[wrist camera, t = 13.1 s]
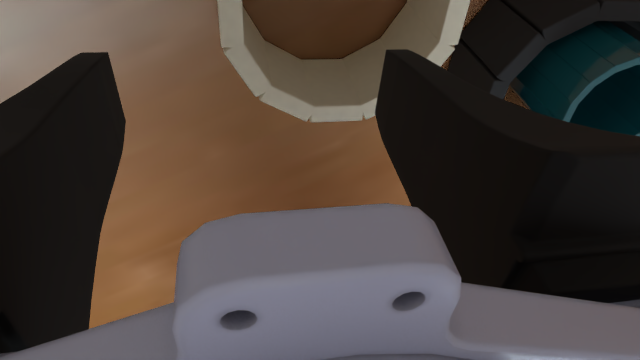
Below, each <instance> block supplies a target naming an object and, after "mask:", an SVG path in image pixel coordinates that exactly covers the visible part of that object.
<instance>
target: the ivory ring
mask: <svg viewBox="0 0 640 360" xmlns="http://www.w3.org/2000/svg"><path fill="white" fill-rule="evenodd" d="M469 4H470V0H407V3H406V4H405V6H404V7H403V8H402V10H401V11H400V12H399V14H398V15H397V16H396V18H395V19H394V20H393V22H392V23H391V24H390V26H389V27H388V28H387V30H386V31H385V32H384V34H383V35H382V36H381V38H380V39H378V40H376V41H375V42H373V43H371V44H369V45H367V46H365V47H363V48H361V49H359V50H358V51H356V52H354V53H352V54H350V55H348V56H346V57H344V58H342V59H313V60H301V59H299V58H297V57H295V56H293V55H291V54H289V53H288V52H286V51H284V50H282V49H280V48H278V47H276V46H274V45H273V44H271V43H269V42H267V41H265V40H264V39H263V37H262V36H261V34H260V33H259V31H258V29H257V28H256V26H255V25H254V23H253V22H252V20H251V18H250V17H249V15H248V14H247V12H246V10H245V9H244V7H243V6H242V0H217V5H218V17H219V30H220V42H221V47H223V52H224V54H225V55H226V57H227V58H228V59H229V61H230V62H231V64H232V65H233V66H234V68H235V69H236V71H237V72H238V73H239V75H240V76H241V78H242V79H243V80H244V82H245V83H246V85H247V86H248V87H249V89H250V90H251V92H252V93H253V94H254V96H255V97H257V96H259V100H260V101H262V102H264V103H266V104H268V105H271V106H273V107H275V108H277V109H279V110H282V111H284V112H286V113H288V114H290V115H292V116H295V117H297V118H299V119H301V120H303V121H307V120H308V119H310V122H336V121H361V120H362V117H363V115H364V117H365V119H369V118H371V117H373V116H375V108H376V103H377V97H378V92H379V86H380V81H381V75H382V69H383V64H384V58H385V53H386V50H391V49H408V50H410V51H413V52H415V53H417V54H419V55H421V56H423V57H424V58H426V59H428V60H430V61H431V62H433V63H435V64H437V65H438V66H440V67H441V65H442V64H443V63H444V62H445V61H446V59H447V58H448V57H449V56H450V55H451V54H452V52H453V51H454V50H455V48H454V46H453V45H458V42H459V39H460V35H461V32H462V28H463V25H464V21H465V18H466V14H467V11H468V7H469Z"/></svg>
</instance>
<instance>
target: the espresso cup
mask: <svg viewBox="0 0 640 360" xmlns="http://www.w3.org/2000/svg"><path fill="white" fill-rule="evenodd" d="M509 88H510V89H511V90H512V91H513V92H514V93H515V95H516V96H517V97H518V98H519V99H520V100H521V101H522V102H523V103H524V104H525V105H526V107H527V108H528V109H529V110H531V111H534V112H537V113H540V114H543V115H546V116H550V117H553V118H556V119H559V120H563V121H566V122H570V123H574V124H578V125H582V126H587V127H591V128H595V129H600V130H604V131H609V132H615V133H622V134H628V135H634V136H640V41H639V40H638V39H636V38H635V37H633V36H632V35H630V34H628V33H627V32H625V31H624V30H622V29H621V28H619V27H618V26H616V25H615V24H613V23H611V22H610V21H596V22H594V23H592V24H590V25H588V26H586V27H583V28H581V29H579V30H577V31H575V32H573V33H571V34H569V35H567V36H565V37H563V38H561V39H558V40H556V41H554V42H552V43H550V44H548V45H547V46H546V47H545V48H544V49H543V50H542V51H541V52H540V53H539V54H538V55H537V56H536V57H535V58H534V59H533V60H532V61H531V62H530V63H529V64H528V65H527V66H526V67H525V68H524V69H523V70H522V71H521V72H520V73H519V74H518V75H517V76H516V77H515V78H514V79H513V80H512V81H511V82H510V85H509Z"/></svg>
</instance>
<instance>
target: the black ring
mask: <svg viewBox="0 0 640 360" xmlns="http://www.w3.org/2000/svg"><path fill="white" fill-rule="evenodd" d="M596 21H610V22H611V23H613V24H615V25H616V26H618V27H619V28H621V29H622V30H624V31H625V32H627V33H628V34H630V35H632V36H633V37H635V38H636V39H638V40H639V41H640V0H489V1H488V2H487V3H486V5H485V6H484V7H483V8H482V9H481V10H480V12H479V13H478V14H477V15H476V16H475V17H474V19H473V20H472V21H471V22H470V23H469V24H468V26H467V27H466V28H465V29H464V30H463V31H462V33H461V35H460V37H461V38H462V39H459V42H458V45H455V47H454V48H455V50H454V51H453V54H452V57H451V61H450V64H449V68H448V71H449V72H450V73H452V74H454V75H455V76H457V77H459V78H461V79H463V80H464V81H466V82H468V83H470V84H472V85H474V86H476V87H478V88H480V89H482V90H484V91H486V92H488V93H490V94H492V95H494V96H496V97H498V98H500V99H503V100H504V97H505V95H506V92H507V90H508V87H509V85H510V82H511V81H512V80H513V79H514V78H515V77H516V76H517V75H518V74H519V73H520V72H521V71H522V70H523V69H524V68H525V67H526V66H527V65H528V64H529V63H530V62H531V61H532V60H533V59H534V58H535V57H536V56H537V55H538V54H539V53H540V52H541V51H542V50H543V49H544V48H545V47H546V46H547V45H548V44H550V43H552V42H554V41H556V40H558V39H561V38H563V37H565V36H567V35H569V34H571V33H573V32H575V31H577V30H579V29H581V28H583V27H586V26H588V25H590V24H592V23H594V22H596Z"/></svg>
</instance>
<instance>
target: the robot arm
mask: <svg viewBox="0 0 640 360" xmlns="http://www.w3.org/2000/svg"><path fill="white" fill-rule="evenodd" d="M375 115H376V119H377V123H378V127H379V131H380V134H381V138H382V141H383V143H384V145H385V148H386V150H387V152H388V154H389V157H390V159H391V161H392V163H393V165H394V168H395V170H396V172H397V174H398V176H399V178H400V181H401V183H402V185H403V187H404V189H405V192H406V194H407V196H408V198H409V201H410V203H411V206H412V207H411V206H404V205H396V204H389V203H384V204H370V205H356V206H342V207H328V208H314V209H300V210H286V211H272V212H258V213H244V214H238V215H234V216H230V217H226V218H222V219H218V220H214V221H210V222H207V223H205V224H203V225H202V226H201V227H200V228H198V229H197V230H196V231H195V232H194V233H192V234H191V235H190V236H189V237H187V238H186V239H185V240H184V241H182V244H181V248H180V253H179V258H178V262H177V272H176V285H175V298H174V302H173V303H170V304H167V305H164V306H161V307H158V308H154V309H151V310H148V311H145V312H142V313H139V314H135V315H132V316H129V317H126V318H123V319H120V320H116V321H113V322H110V323H107V324H104V325H101V326H97V327H94V328H91V329H89V320H90V309H91V299H92V291H93V282H94V274H95V266H96V259H97V252H98V245H99V239H100V232H101V228H102V224H103V219H104V215H105V212H106V208H107V205H108V201H109V198H110V194H111V191H112V188H113V184H114V181H115V177H116V174H117V170H118V166H119V163H120V159H121V155H122V151H123V143H124V133H125V123H126V121H125V117H124V113H123V109H122V105H121V101H120V97H119V93H118V90H117V86H116V82H115V78H114V74H113V70H112V66H111V62H110V59H109V55H108V52H101V53H80V54H78V55H76V56H74V57H72V58H71V59H69V60H68V61H66V62H65V63H63V64H62V65H60V66H59V67H57V68H56V69H54V70H53V71H51V72H50V73H48V74H47V75H45V76H44V77H42V78H41V79H39V80H38V81H36V82H35V83H33V84H32V85H30V86H29V87H27V88H25V89H24V90H22V91H21V92H19V93H17V94H16V95H14V96H12V97H11V98H9V99H7V100H6V101H4V102H2V103H1V104H0V360H640V136H634V135H628V134H622V133H615V132H609V131H604V130H600V129H595V128H591V127H587V126H582V125H578V124H574V123H570V122H566V121H563V120H559V119H556V118H553V117H550V116H546V115H543V114H540V113H537V112H534V111H531V110H528V109H525V108H523V107H520V106H518V105H515V104H513V103H510V102H508V101H505V100H503V99H500V98H498V97H496V96H494V95H492V94H490V93H488V92H486V91H484V90H482V89H480V88H478V87H476V86H474V85H472V84H470V83H468V82H466V81H464V80H463V79H461V78H459V77H457V76H455V75H454V74H452V73H450V72H449V71H447V70H445V69H443V68H442V67H440V66H438V65H437V64H435V63H433V62H431V61H430V60H428V59H426V58H424V57H423V56H421V55H419V54H417V53H415V52H413V51H410V50H408V49H391V50H386V53H385V58H384V64H383V69H382V75H381V81H380V86H379V92H378V97H377V103H376V108H375Z"/></svg>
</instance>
